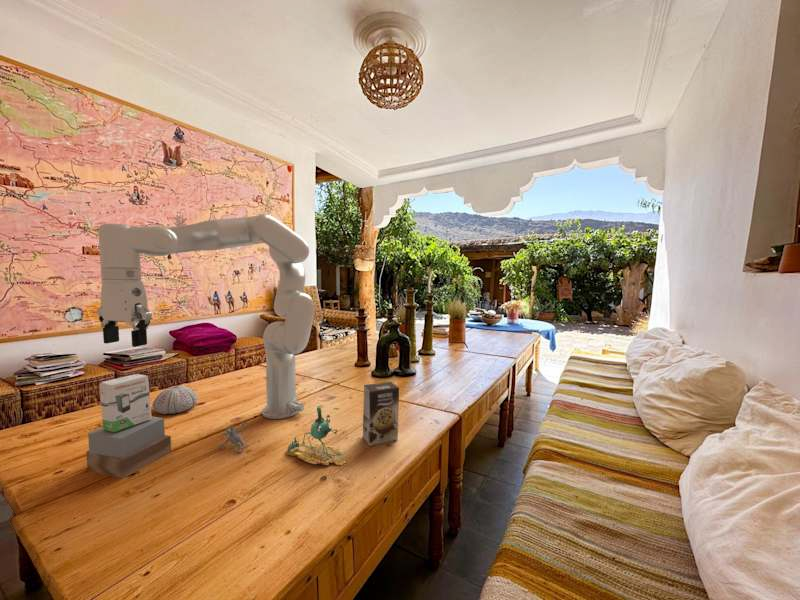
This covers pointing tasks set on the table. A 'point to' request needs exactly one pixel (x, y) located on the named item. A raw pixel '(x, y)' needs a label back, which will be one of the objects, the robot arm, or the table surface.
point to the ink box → (125, 402)
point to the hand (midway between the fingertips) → (125, 344)
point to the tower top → (126, 438)
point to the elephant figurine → (234, 437)
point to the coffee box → (380, 413)
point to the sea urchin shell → (175, 400)
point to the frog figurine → (317, 445)
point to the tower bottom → (129, 459)
